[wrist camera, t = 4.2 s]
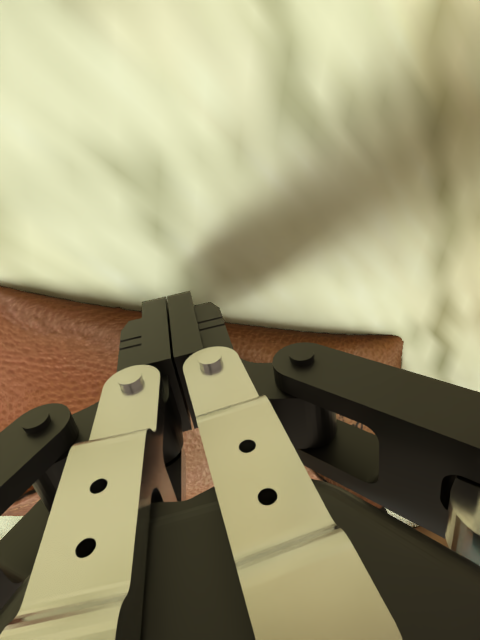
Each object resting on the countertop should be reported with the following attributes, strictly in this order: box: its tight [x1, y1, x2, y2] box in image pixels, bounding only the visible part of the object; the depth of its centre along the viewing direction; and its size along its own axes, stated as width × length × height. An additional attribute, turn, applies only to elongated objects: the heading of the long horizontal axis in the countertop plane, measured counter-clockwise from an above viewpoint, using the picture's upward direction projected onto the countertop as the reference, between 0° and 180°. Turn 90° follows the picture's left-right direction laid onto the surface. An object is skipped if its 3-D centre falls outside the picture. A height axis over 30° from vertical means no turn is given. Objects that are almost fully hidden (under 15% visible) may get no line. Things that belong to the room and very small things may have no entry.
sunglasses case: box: [0, 286, 404, 516], centre depth 16 cm, size 18×7×7 cm
